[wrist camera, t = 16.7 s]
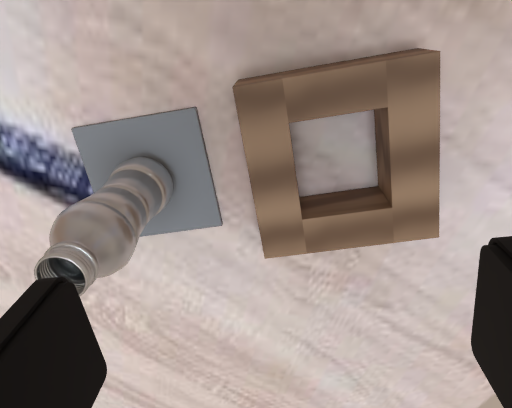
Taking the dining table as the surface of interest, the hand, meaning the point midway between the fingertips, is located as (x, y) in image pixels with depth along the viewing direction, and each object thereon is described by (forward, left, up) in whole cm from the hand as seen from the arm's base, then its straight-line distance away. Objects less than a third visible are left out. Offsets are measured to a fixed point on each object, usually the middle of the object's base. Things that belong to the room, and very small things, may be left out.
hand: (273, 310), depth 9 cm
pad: (+7, -16, -36) cm, 39 cm away
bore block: (+7, +5, -36) cm, 37 cm away
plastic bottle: (+7, -16, -35) cm, 39 cm away
